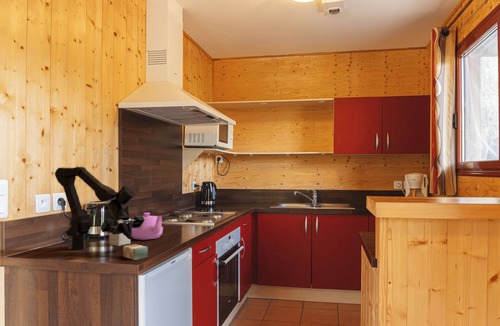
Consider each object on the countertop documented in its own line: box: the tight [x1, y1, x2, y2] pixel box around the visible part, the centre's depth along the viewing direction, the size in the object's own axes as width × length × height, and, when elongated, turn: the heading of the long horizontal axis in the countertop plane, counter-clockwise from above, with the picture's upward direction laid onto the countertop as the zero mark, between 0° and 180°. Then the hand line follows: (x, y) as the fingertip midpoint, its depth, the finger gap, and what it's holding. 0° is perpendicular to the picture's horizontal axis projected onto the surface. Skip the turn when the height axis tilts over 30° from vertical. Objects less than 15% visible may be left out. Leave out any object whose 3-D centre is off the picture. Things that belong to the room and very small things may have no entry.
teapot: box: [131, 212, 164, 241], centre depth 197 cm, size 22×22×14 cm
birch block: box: [122, 243, 149, 261], centre depth 155 cm, size 4×6×9 cm
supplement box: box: [108, 218, 132, 247], centre depth 181 cm, size 7×7×13 cm
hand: (130, 238), depth 157 cm, fingers closed
